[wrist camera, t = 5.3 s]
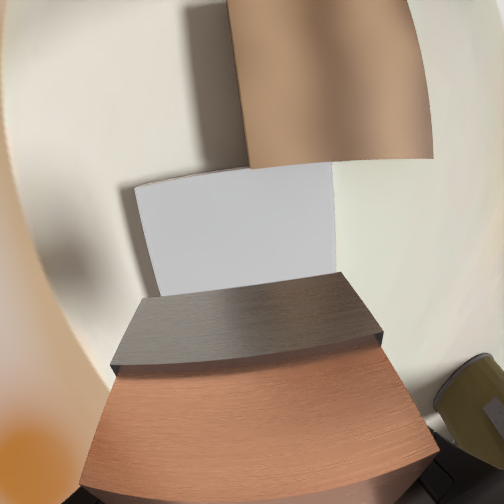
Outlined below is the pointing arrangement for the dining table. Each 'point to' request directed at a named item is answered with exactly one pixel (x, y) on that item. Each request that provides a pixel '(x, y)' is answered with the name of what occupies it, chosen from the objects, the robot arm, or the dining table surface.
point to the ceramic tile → (239, 227)
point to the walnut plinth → (329, 81)
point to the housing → (257, 402)
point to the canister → (475, 408)
